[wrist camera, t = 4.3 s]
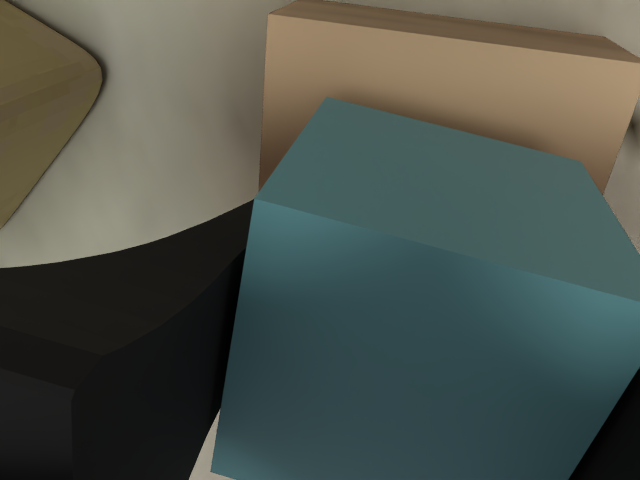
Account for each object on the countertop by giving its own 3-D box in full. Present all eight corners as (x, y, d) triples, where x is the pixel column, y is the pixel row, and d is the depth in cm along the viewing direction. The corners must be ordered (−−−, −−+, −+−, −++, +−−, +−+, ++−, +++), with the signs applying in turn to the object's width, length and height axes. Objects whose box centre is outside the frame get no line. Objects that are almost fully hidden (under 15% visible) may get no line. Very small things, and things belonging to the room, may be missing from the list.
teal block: (490, 358, 13) (514, 563, 9) (283, 301, 14) (210, 471, 9) (581, 161, 11) (674, 311, 7) (326, 96, 11) (254, 198, 7)
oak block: (520, 288, 19) (539, 367, 15) (285, 246, 20) (252, 311, 16) (602, 35, 15) (650, 64, 12) (305, -3, 16) (267, 13, 13)
